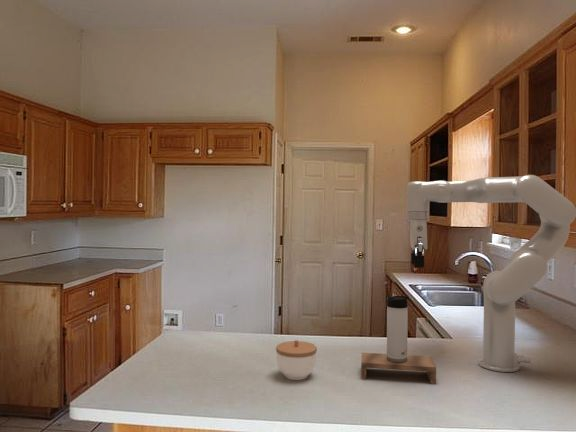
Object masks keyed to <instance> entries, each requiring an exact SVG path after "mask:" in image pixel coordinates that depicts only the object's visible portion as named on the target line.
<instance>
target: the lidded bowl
mask: <svg viewBox="0 0 576 432" xmlns="http://www.w3.org/2000/svg"><path fill="white" fill-rule="evenodd" d="M275 350H276V351H275V352H276V363H277V366H278V370H279V371H280V372H281V373H282V374H283V375H284V377H285V378H286V379H288V380H292V381H302V380H305V379H307V378H308V376H309V375H310V374H311V373H312V372H313V371H314V368H315V366H316V361H317V350H318V349H317V346H316V345H315V344H313V343H312V342H307V341H304V340H303V341H302V340H297V339H294V340H292V341H291V340H290V341H284V342H281V343H279V344H277V345H276V347H275Z"/></svg>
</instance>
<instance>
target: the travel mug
mask: <svg viewBox="0 0 576 432" xmlns="http://www.w3.org/2000/svg"><path fill="white" fill-rule="evenodd" d="M409 299H410V297H409V295H393V296H389V297H387V299H386V300H387V301H386V302H387V304H386V307H387V308H386V354H387V359H388V360H389V361H391V362H397V363H401V362H406V361H407V355H408V332H409V331H408V329H409V328H408V322H409V321H408V319H409V318H408V308H409V307H408V306H409V305H408V300H409Z"/></svg>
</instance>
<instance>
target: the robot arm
mask: <svg viewBox="0 0 576 432" xmlns="http://www.w3.org/2000/svg"><path fill="white" fill-rule="evenodd" d="M406 191H407V192H406V221H408V222H410V223H409V224H410V225H409V236H410V237H409V238H410V239H409V241H410V248H411V258H410V260H411V261H410V263H411V265H413V267H414V268H416V269H417V268H418V269H419V268H420V269H421V268H422V269H423V268H425V253H424V252H425V251H427V250H428V225H427V224H428V223H427V222H430V202H434V203H435V202H436V203H443V204H444V203H445V204H446V203H447V204H448V203H477V204H490V203H491V204H493V203H494V204H495V203H496V204H498V203H500V204H501V203H503V204H504V203H525V204H526V205H528V206H529V208H531V209H533V210H534V212H536V213H537V214H538V215H539V219H540V227H539V229H538V230H537V232H536V233H534V235H533V236H532V237H530V239H529V240H528V241H526V243H524V244H523V245H522V246H521V247H520V248H519V249H517V250H516V251H515V252H513V253H512V254H511V255H510V258H509V262H508V264H507V265H506V266H505V267H504V268H503V269H502V270H493V271H491V272H489V273H488V274H486V276H485V278H484V280H483V285H482V286H483V287H482V292H483V295H482V296H483V330H482V332H483V336H482V337H483V338H482V343H483V345H482V349H483V350H482V356H481V357H479V358H478V359H477V363H478V366H480V367H482V368H484V369H487V370H490V371H495V372H501V373H513V372H517V371H519V370H520V368H521V365H520V364H521V363H523V364H531V363H532V360H531V357H529V356H524V355H520V354H519V355H518V354H516V353H515V352H516V351H515V349H516V348H515V347H516V342H515V341H516V337H515V336H516V302H517V301H518V300H519V299H520V298H521V297H523V296H524V295H526V293H527V292H528V291H530V290H531V289H532V288H533V287H534V286H535V285H537V284H538V283H539V282H540V281H541V280H542V279H543V277H544V276H545V275H546V273H547V271H548V263H549V261H550V260H552V258H554V256H556V254H557V253H559V251H561V250H562V248H563V247H564V246H565V245H566V243H567V241H568V239H569V235H570V230H571V226H570V225H571V224H572V223H573V222H574V220H575V219H576V206H575V205H574V203H573V202H572V201H571V200H569V199H568V198H567V197H566V196H564V195H563V194H561V192H559V191H557V190H556V189H555V188H554V187H552V186H551V185H550V184H548V183H547V182H546V181H545V180H544V179H543V178H540V177H539V176H537V175H535V174H525V175H522V176H521V175H520V176H497V177H495V176H494V177H488V176H487V177H480V178H476V179H470V180H462V181H461V180H458V181H447V180H444V179H442V180H441V179H440V180H433V181H418V180H417V181H409V182H408V184H407V188H406ZM424 250H425V251H424Z"/></svg>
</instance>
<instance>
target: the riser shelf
mask: <svg viewBox="0 0 576 432" xmlns="http://www.w3.org/2000/svg"><path fill="white" fill-rule="evenodd" d="M432 357H433V356H430V355H429V356H428V355H410V354H407V361H406V362H401V363H397V362H391V361H389V360H388V359H387V353H375V352H361V359H360V360H361V365H360V366H361V367H360V368H361V369H360V373H361V375H360V376H361V377H360V378H361V380H367V369H377V370H378V369H379V370H395V371H410V372H411V371H413V372H425V373H426V375H427V378H428V380H429V383H430V384H434V385H437V366H436V364H435V361H434V359H433V358H432Z"/></svg>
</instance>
